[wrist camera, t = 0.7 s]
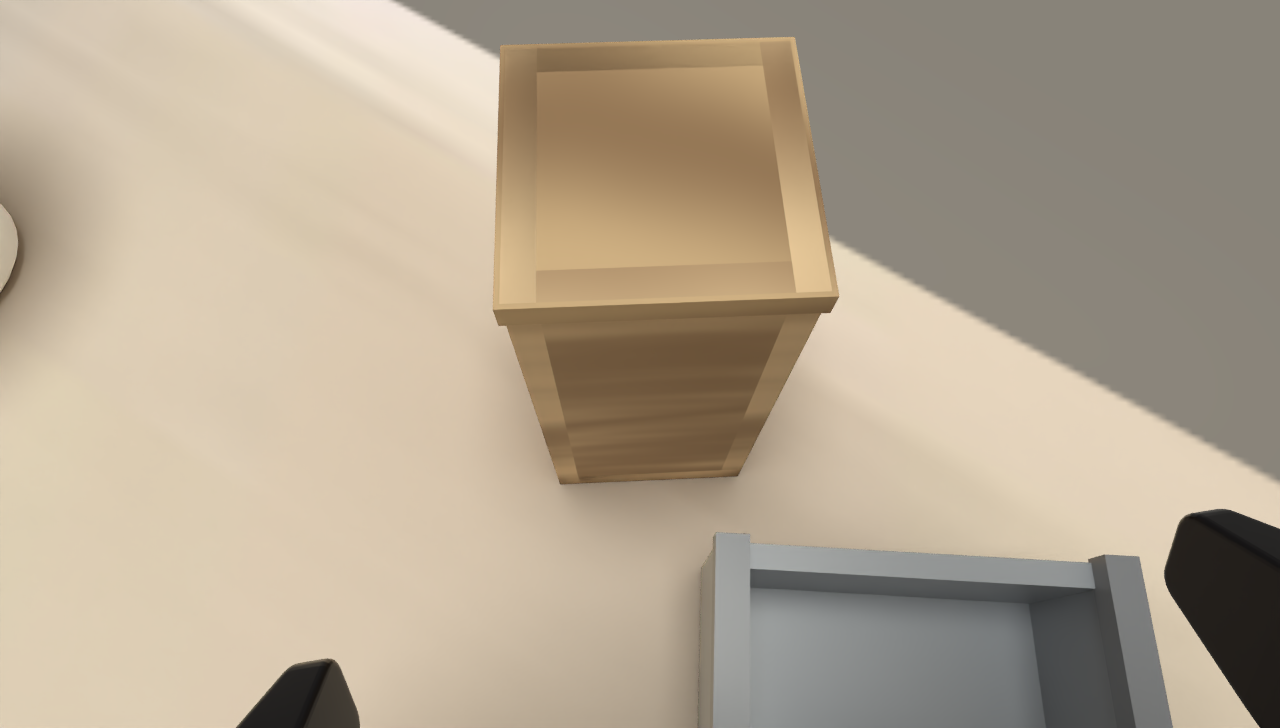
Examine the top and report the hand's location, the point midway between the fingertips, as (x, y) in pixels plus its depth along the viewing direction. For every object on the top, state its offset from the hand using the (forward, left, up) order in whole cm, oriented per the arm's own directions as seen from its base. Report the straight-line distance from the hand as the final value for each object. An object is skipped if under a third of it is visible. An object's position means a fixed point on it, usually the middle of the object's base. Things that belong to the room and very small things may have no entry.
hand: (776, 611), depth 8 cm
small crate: (+8, 0, -15) cm, 17 cm away
